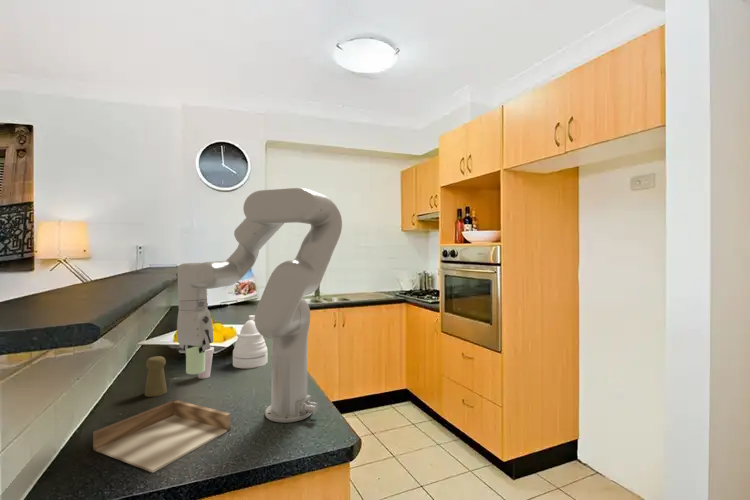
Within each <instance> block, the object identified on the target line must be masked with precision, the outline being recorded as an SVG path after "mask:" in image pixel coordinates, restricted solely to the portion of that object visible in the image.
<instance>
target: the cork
mask: <svg viewBox="0 0 750 500" xmlns="http://www.w3.org/2000/svg"><path fill="white" fill-rule="evenodd" d="M166 363H167V361H166V358H165V357H163V356H161V355H159V356H158V355H156V356H152V357H149V358H148V359H147V360H146V362H145V365H146V368H147V369H148V370H147V374H146V382H145V388H144V396H145V397H147V398H148V397H150V398H153V397H159V396H163V395H164V394H166V393H167V392H168V388H167V383H166V375H165V368H164V367H165V366H166Z"/></svg>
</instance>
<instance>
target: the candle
mask: <svg viewBox="0 0 750 500" xmlns="http://www.w3.org/2000/svg"><path fill="white" fill-rule="evenodd" d="M200 347H203V344H202V345H201V346H195V347H193V346H191V347H189V348H187V349H186V354H185V373H186V374H187V375H198V374H199V373H202V372H204V371H205V352H203V351H202V353H200V354H199V348H200Z"/></svg>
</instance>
